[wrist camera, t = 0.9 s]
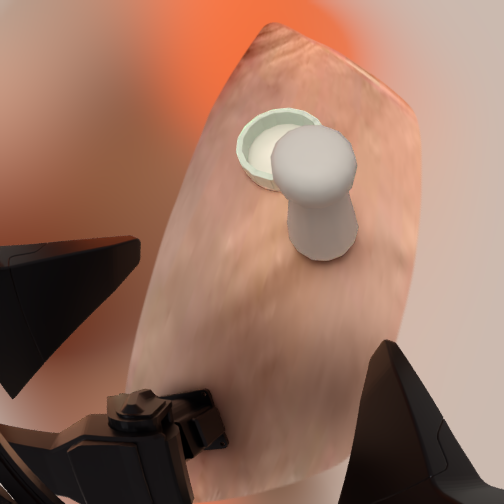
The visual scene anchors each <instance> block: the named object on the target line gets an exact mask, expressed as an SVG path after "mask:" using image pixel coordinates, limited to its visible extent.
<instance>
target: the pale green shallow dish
mask: <svg viewBox="0 0 504 504" xmlns="http://www.w3.org/2000/svg"><path fill="white" fill-rule="evenodd" d="M303 125H321V123H320V122H319V120H318V119H317V118H315V117H314V116H312V115H311V114H309V113H307V112H306V111H303V110H298V109H293V108H281V109H273V110H270V111H267V112H265V113H262V114H260V115H258V116H256V117H255V118H254V119H253V120H251V121H250V122H249V123H248V124H247V125H245V127H244V128H243V130H242V132H241V133H240V135H239V137H238V139H237V148H236V153H237V156H238V158H239V161H240V163H241V165H242V167H243V169H244V170H245V172H246V173H247V175H248V176H249V177H250V178H251V179H252V180H253V181H254V182H255V183H256V184H257V185H259V186H261V187H263V188H265V189H268V190H272V191H278V192H281V191H280V190H279V188H278V187H277V186H276V184H275V182H274V181H273V175H272V167H271V158H270V156H271V154H272V151H273V149H274V146H275V143H276V142H277V141H278V140H279V139H280V138H281V137H282V136H284V135H285V134H286V133H287V132H288V131H290V130H293V129H295V128H298V127H301V126H303Z"/></svg>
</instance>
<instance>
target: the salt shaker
mask: <svg viewBox="0 0 504 504" xmlns="http://www.w3.org/2000/svg"><path fill="white" fill-rule="evenodd" d="M270 158H271V167H272V175H273V181H274V182H275V184H276V186H277V187H278V188H279V190H280V191H281V192H282V193H283V195H284V196H285V197H286V199H288V200H289V202H288V219H287V225H288V233H289V239H290V240H291V242H292V243H293V245H294V246H295V248H296V249H297V251H298V252H300V253H301V254H303V255H305V256H307V257H308V258H310V259H312V260H320V261H329V260H332V259H335V258H337V257H340V256H342V255H344V254H345V253H346V252H347V250H348V249H349V248H350V247H351V246H352V245H353V243H354V242H355V238H356V235H357V231H358V228H359V227H358V223H357V219H356V215H355V211H354V208H353V205H352V202H351V199H350V195H349V190H350V189H351V188H352V185H353V181H354V177H355V173H356V169H357V162H356V158H355V155H354V152H353V149H352V146H351V143H350V142H349V141H348V140H347V139H346V138H345V137H344V136H343V135H342V134H341V133H340V132H339V131H337V130H334V129H331V128H329V127H326V126H323V125H303V126H301V127H298V128H295V129H293V130H290V131H288V132H287V133H286V134H285V135H284V136H282V137H281V138H280V139H279V140H278V141H277V142H276V143H275V146H274V149H273V151H272V154H271V156H270Z"/></svg>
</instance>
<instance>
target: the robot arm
mask: <svg viewBox="0 0 504 504" xmlns="http://www.w3.org/2000/svg"><path fill="white" fill-rule="evenodd" d="M140 249H141V242H140V240H139V239H138V238H136V237H133V236H131V235H128V236H116V237H103V238H92V239H81V240H70V241H59V242H49V243H39V244H29V245H12V246H0V383H1V385H2V386H3V388H4V389H5V390H6V392H7V393H8V394H9V396H10V397H11V398H12V399H14V398H15V397H16V396H17V395H18V393H19V392H20V391H21V390H22V389H23V387H24V386H25V385H26V384H27V383H28V381H29V380H30V379H31V378H32V377H33V376H34V374H35V373H36V372H37V371H38V370H39V369H40V368H41V367H42V365H43V364H44V362H46V361H47V360H48V359H49V357H50V356H51V355H52V354H53V353H54V352H55V351H56V350H57V349H58V348H59V347H60V346H61V344H62V343H63V342H64V341H65V340H66V339H67V338H68V337H69V336H70V335H71V334H72V333H73V332H74V331H75V330H76V329H77V328H78V327H79V326H80V325H81V324H82V323H83V322H84V321H85V320H86V319H87V318H88V317H89V316H90V315H91V314H92V313H93V312H94V311H95V310H96V309H97V308H98V307H99V306H100V305H101V304H102V303H103V302H104V301H105V300H106V299H107V298H108V297H109V296H110V295H111V294H112V293H113V292H114V291H115V290H116V289H117V288H118V287H119V286H120V284H121V283H122V282H123V281H124V280H125V279H126V277H127V276H128V275H129V274H130V273H131V272H132V271H133V270H134V268H135V267H136V266H137V265H138V264H139V261H140ZM203 392H205V393H206V396H204V395H203ZM224 431H225V428H224V426H223V423H222V420H221V418H220V415H219V412H218V410H217V408H216V407H215V405H214V403H213V400H212V397H211V394H210V392H209V390H207V389H200V390H195V391H190V392H184V393H179V394H173V395H167V396H160V397H158V396H156V395H155V394H154V393H153V392H152V391H151V390H150V389H143V390H139V391H135V392H133V393H131V394H123V393H122V394H119V395H117V396H110V397H107V414H91V415H88V416H86V417H85V418H83V419H81V420H80V421H78V422H76V423H75V424H73V425H72V426H70V427H69V428H67V429H65V430H64V431H62V432H60V433H50V432H42V431H35V430H29V429H23V428H18V427H12V426H8V425H3V424H0V483H1V484H2V485H3V487H4V488H5V489H6V490H7V492H8V493H9V494H10V495H11V496H12V497H13V499H14V500H13V499H12V497H11V496H10V495H9V494H8V493H7V492H6V490H5V489H4V488H3V487H2V486H0V504H65V503H64V502H63V501H61V500H60V499H59V498H58V497H57V496H63V497H68V498H70V499H72V500H74V501H76V502H78V503H79V504H192V503H193V500H194V495H193V491H192V487H191V483H190V479H189V475H188V471H187V466H186V462H187V461H188V460H190V459H192V458H194V457H195V456H196V455H198V454H199V453H200V452H201V451H202V450H212V449H222V448H226V447H227V446H228V445H229V442H228V439H227V437H226V434H225V432H224ZM222 442H224V443H225V445H223V444H222ZM56 495H57V496H56ZM338 504H504V490H503V489H499V488H496V487H493V486H490V485H488V484H487V483H485V482H484V481H483V480H482V479H481V478H480V476H479V475H478V473H477V472H476V470H475V468H474V467H473V465H472V464H471V462H470V461H469V459H468V457H467V456H466V454H465V453H464V451H463V450H462V448H461V446H460V445H459V443H458V442H457V440H456V439H455V437H454V435H453V434H452V432H451V430H450V428H449V426H448V425H447V423H446V421H445V419H443V416H442V414H441V413H440V411H439V409H438V407H437V406H436V404H435V403H434V401H433V399H432V398H431V396H430V394H429V393H428V391H427V389H426V388H425V386H424V385H423V383H422V381H421V380H420V378H419V377H418V375H417V374H416V372H415V371H414V370H413V368H412V366H411V364H410V363H409V361H408V360H407V358H406V357H405V356H404V354H403V352H402V351H401V349H400V348H399V347H398V345H397V344H396V343H395V342H393V341H390V340H387V339H386V340H384V341H382V343H381V344H380V346H379V347H378V348H377V350H376V351H375V353H374V354H373V355H372V357H371V359H370V362H369V366H368V371H367V375H366V379H365V384H364V388H363V392H362V396H361V400H360V406H359V412H358V418H357V424H356V430H355V435H354V441H353V446H352V450H351V455H350V460H349V464H348V468H347V472H346V476H345V480H344V484H343V487H342V491H341V495H340V498H339V501H338Z"/></svg>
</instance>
